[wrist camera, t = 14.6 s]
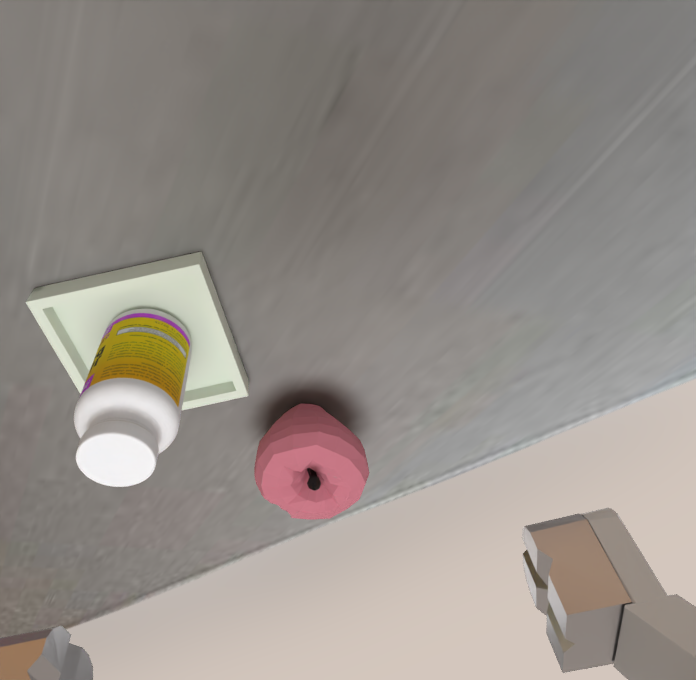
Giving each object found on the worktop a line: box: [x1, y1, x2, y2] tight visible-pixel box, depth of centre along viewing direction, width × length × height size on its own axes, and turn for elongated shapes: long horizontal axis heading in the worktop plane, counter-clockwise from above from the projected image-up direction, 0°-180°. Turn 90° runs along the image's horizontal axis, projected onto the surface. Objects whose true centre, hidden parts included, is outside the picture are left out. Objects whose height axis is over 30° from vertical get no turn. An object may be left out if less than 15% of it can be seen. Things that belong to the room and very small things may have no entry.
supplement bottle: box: [74, 309, 192, 487], centre depth 41 cm, size 7×7×13 cm
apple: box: [255, 404, 369, 519], centre depth 50 cm, size 10×9×10 cm
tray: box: [26, 252, 249, 410], centre depth 46 cm, size 13×13×2 cm
